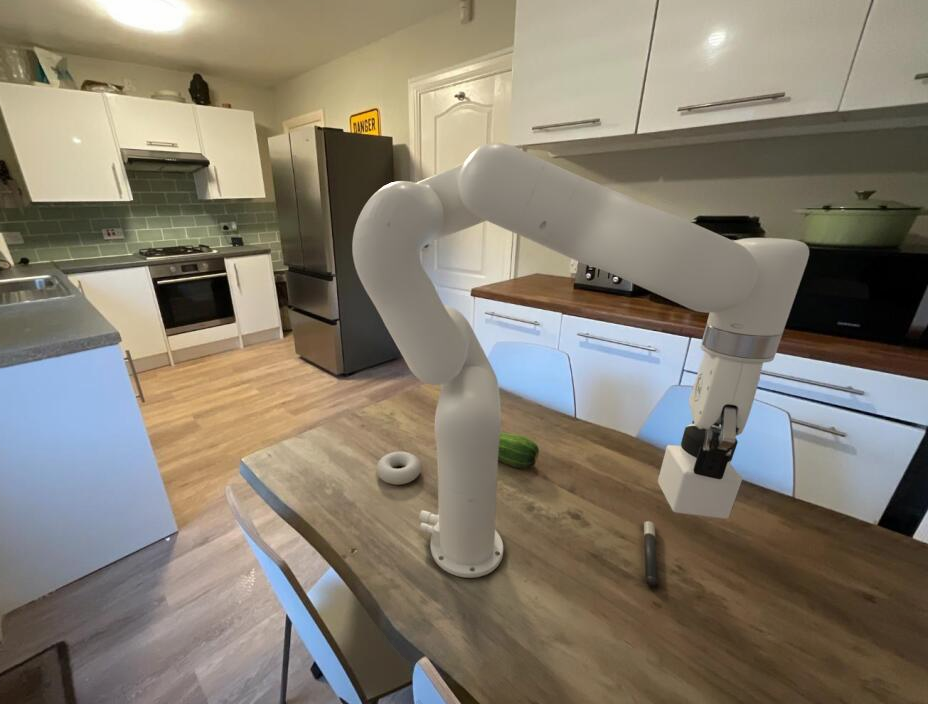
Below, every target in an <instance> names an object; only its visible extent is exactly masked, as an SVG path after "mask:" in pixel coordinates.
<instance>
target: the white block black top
mask: <svg viewBox="0 0 928 704" xmlns="http://www.w3.org/2000/svg"><path fill="white" fill-rule="evenodd" d="M712 427H713V428H718V429H721V426H716V425H712ZM705 433H706V429H704V428H702V429H698V428H697V427H696V425H695V424H692V423H690V424H688V425H686V426H685V427H684V430H683V435H682V438H681V442H680V445H673V444H668V445H666V448H665V453H664V456H663V459H662V464H661V467H660V470H659V474H658V479H657V484H658V485H659V488H660V490H661V491H662V493H663V496H664V497H665V499H666V501H667V503H668V505H669V507H670V509H671V511H672V512H673V513H676V514H683V515H691V516H698V517H705V518H713V519H721V520H728V519H730V517H731V514H732V510H733V508H734V506H735V502H736V499H737V496H738V494H739V491H740V488H741V485H742V482H743V477H742V476H741V475H740V473H739V472H738V470H737V469H735V467H734V466H733V465H732V460H733V457H734V455H735V452H736V448H737V445H738V443H739V441H738V439H737V438H736V440H735V443H734V445H733V447H732V448H733V449H732V450H731V455H730V457H729V460H728V463H727V466H726V469H725V472H724V475H723V478H722V479H715V478H710V477H706V476H702V475H697V474H695V473H694V470H693V469H694V466H695V462H696V459H697V456H698V452H699V449H700V447H703V446H704V439H705ZM719 436H720V434H717V433H713V434H712V440H711V442H712V441H713V440H714V439H718V438H719Z"/></svg>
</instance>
